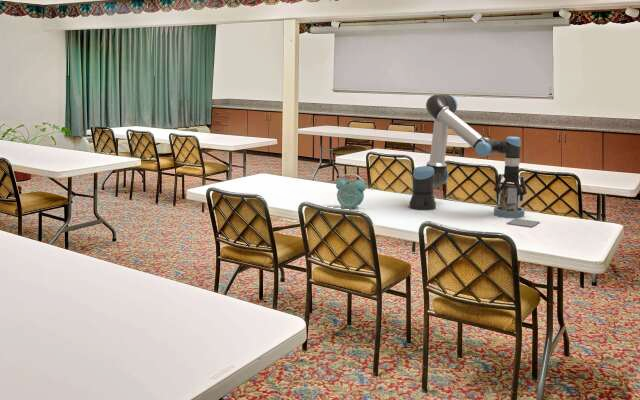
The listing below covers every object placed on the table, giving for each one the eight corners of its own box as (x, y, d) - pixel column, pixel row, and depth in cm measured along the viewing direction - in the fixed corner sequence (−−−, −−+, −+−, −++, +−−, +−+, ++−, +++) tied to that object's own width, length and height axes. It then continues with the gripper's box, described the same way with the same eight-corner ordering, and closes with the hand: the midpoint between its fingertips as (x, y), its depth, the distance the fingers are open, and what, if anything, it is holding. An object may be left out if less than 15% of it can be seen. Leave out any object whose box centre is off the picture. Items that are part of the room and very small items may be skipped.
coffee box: (517, 216, 335) (519, 187, 332) (506, 216, 334) (508, 187, 331) (511, 213, 344) (513, 184, 341) (500, 213, 343) (501, 184, 340)
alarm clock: (333, 208, 355) (333, 173, 351) (339, 205, 364) (339, 171, 360) (361, 210, 349) (362, 175, 345) (367, 207, 357) (367, 173, 353)
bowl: (489, 215, 337) (490, 209, 337) (500, 210, 350) (500, 204, 349) (518, 219, 328) (518, 213, 328) (527, 214, 341) (527, 208, 340)
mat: (506, 224, 318) (506, 222, 318) (515, 219, 329) (515, 218, 329) (531, 227, 311) (531, 226, 311) (539, 222, 321) (539, 221, 321)
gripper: (489, 164, 337) (486, 204, 342) (530, 168, 324) (527, 209, 329) (494, 162, 343) (491, 201, 348) (535, 166, 330) (532, 206, 335)
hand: (509, 205), depth 338 cm, fingers closed on coffee box, 10 cm apart
